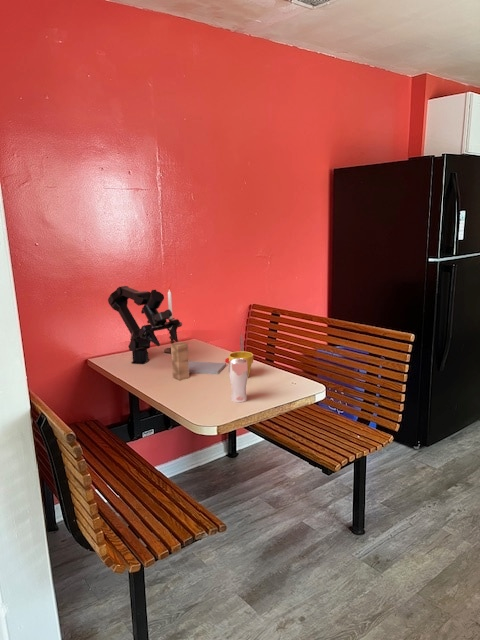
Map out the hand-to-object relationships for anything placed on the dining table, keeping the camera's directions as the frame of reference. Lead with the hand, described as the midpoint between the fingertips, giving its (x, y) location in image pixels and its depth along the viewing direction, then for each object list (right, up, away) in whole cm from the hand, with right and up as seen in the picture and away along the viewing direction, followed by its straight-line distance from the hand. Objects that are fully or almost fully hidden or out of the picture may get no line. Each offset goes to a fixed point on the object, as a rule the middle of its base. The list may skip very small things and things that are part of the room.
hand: (168, 343), depth 207 cm
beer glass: (+31, -20, -29) cm, 46 cm away
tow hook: (+29, -9, +19) cm, 35 cm away
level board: (+14, -12, +8) cm, 20 cm away
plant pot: (+32, -14, -3) cm, 35 cm away
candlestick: (-3, -6, +38) cm, 38 cm away
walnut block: (+6, -14, -3) cm, 16 cm away
